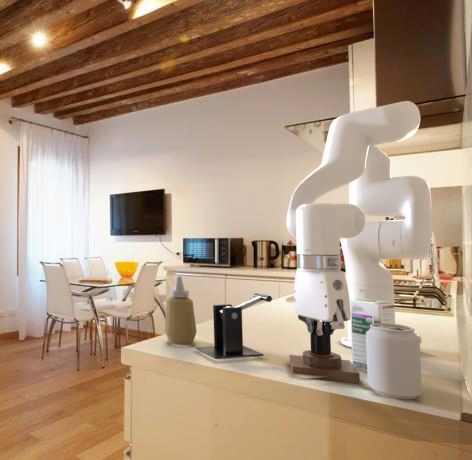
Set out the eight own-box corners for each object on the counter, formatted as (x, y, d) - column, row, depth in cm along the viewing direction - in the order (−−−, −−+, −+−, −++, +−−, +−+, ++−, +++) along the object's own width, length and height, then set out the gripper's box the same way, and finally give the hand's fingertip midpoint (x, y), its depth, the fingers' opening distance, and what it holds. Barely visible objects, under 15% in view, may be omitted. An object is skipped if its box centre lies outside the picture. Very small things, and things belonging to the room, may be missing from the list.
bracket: (240, 349, 104) (238, 302, 104) (263, 359, 95) (262, 308, 95) (195, 352, 102) (194, 304, 102) (215, 362, 93) (214, 310, 93)
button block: (350, 370, 86) (349, 351, 86) (360, 385, 78) (359, 363, 78) (289, 364, 91) (288, 346, 91) (292, 377, 83) (292, 357, 83)
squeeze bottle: (159, 345, 109) (158, 277, 109) (172, 339, 115) (171, 274, 115) (189, 350, 104) (187, 278, 104) (201, 343, 110) (199, 276, 110)
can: (433, 402, 69) (430, 330, 69) (382, 400, 71) (379, 329, 71) (404, 386, 76) (402, 321, 77) (359, 384, 78) (356, 321, 78)
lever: (260, 299, 103) (256, 290, 103) (273, 302, 98) (270, 293, 98) (218, 318, 101) (214, 309, 101) (230, 322, 96) (226, 313, 96)
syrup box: (350, 368, 88) (348, 299, 88) (367, 364, 90) (365, 297, 90) (380, 376, 82) (378, 303, 83) (398, 372, 85) (395, 301, 85)
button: (330, 360, 85) (330, 352, 85) (333, 365, 82) (333, 356, 82) (310, 358, 87) (310, 350, 87) (312, 363, 84) (312, 354, 84)
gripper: (367, 265, 78) (370, 363, 77) (306, 261, 93) (309, 343, 92) (331, 266, 77) (334, 365, 76) (276, 262, 92) (278, 345, 91)
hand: (320, 353), depth 84 cm, fingers closed
